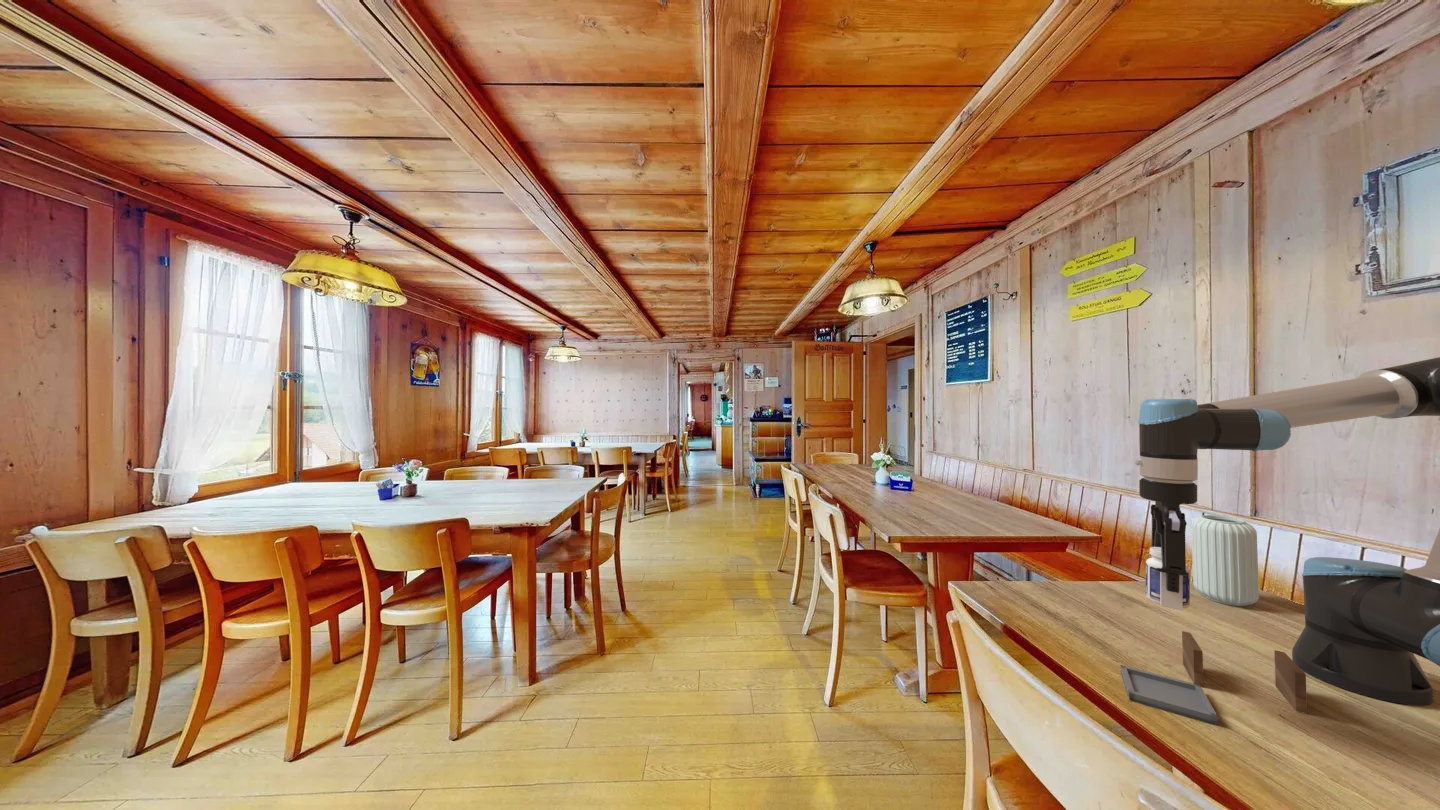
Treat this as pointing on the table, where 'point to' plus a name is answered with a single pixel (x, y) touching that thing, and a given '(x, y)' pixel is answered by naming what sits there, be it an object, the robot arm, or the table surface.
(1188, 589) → the pill bottle
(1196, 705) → the tray
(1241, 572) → the vase
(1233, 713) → the table surface
